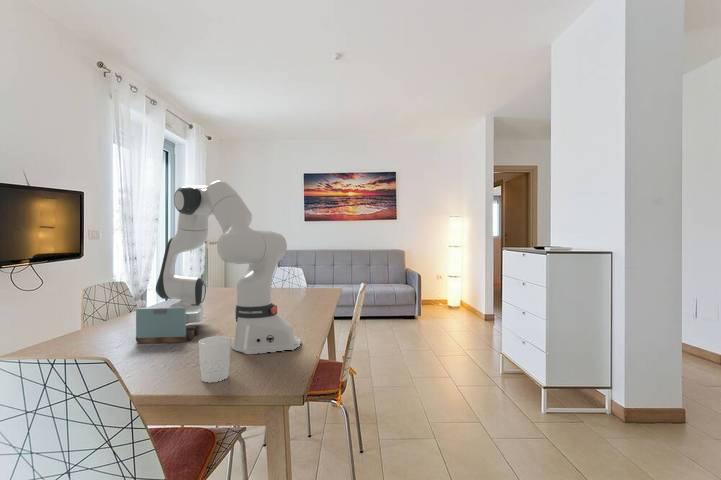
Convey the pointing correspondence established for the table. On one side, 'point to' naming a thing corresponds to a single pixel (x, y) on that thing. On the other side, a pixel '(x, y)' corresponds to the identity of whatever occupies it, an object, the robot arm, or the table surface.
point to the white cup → (214, 358)
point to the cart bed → (189, 334)
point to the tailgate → (160, 322)
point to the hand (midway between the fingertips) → (164, 321)
